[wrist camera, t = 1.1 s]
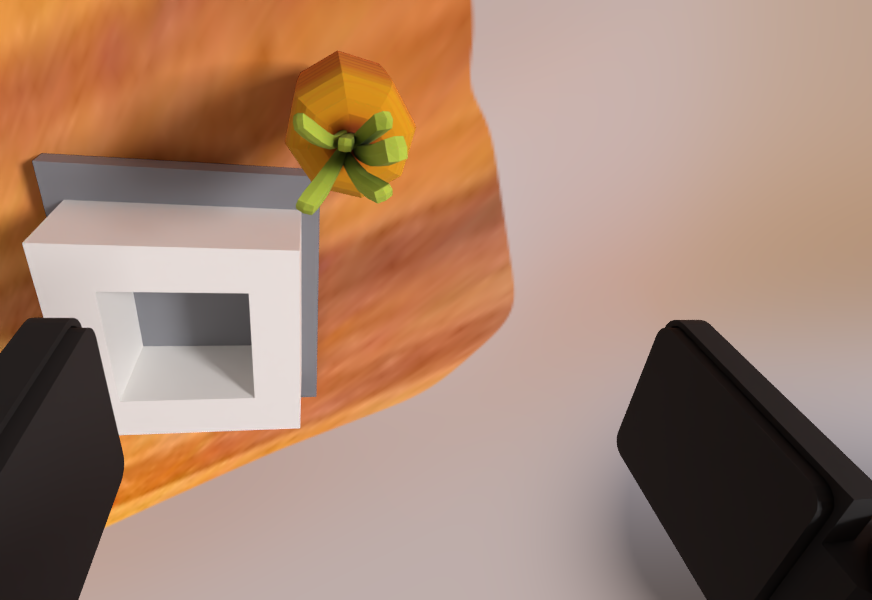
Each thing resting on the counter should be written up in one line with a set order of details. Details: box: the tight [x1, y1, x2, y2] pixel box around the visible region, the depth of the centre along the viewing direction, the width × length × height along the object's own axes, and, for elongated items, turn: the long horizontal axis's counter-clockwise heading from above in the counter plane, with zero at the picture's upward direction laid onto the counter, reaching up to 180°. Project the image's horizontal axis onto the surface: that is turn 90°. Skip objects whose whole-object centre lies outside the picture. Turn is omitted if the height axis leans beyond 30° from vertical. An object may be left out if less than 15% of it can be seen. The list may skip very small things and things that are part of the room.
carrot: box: [285, 51, 416, 215], centre depth 23 cm, size 5×5×15 cm
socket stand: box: [22, 153, 320, 435], centre depth 32 cm, size 16×14×6 cm
